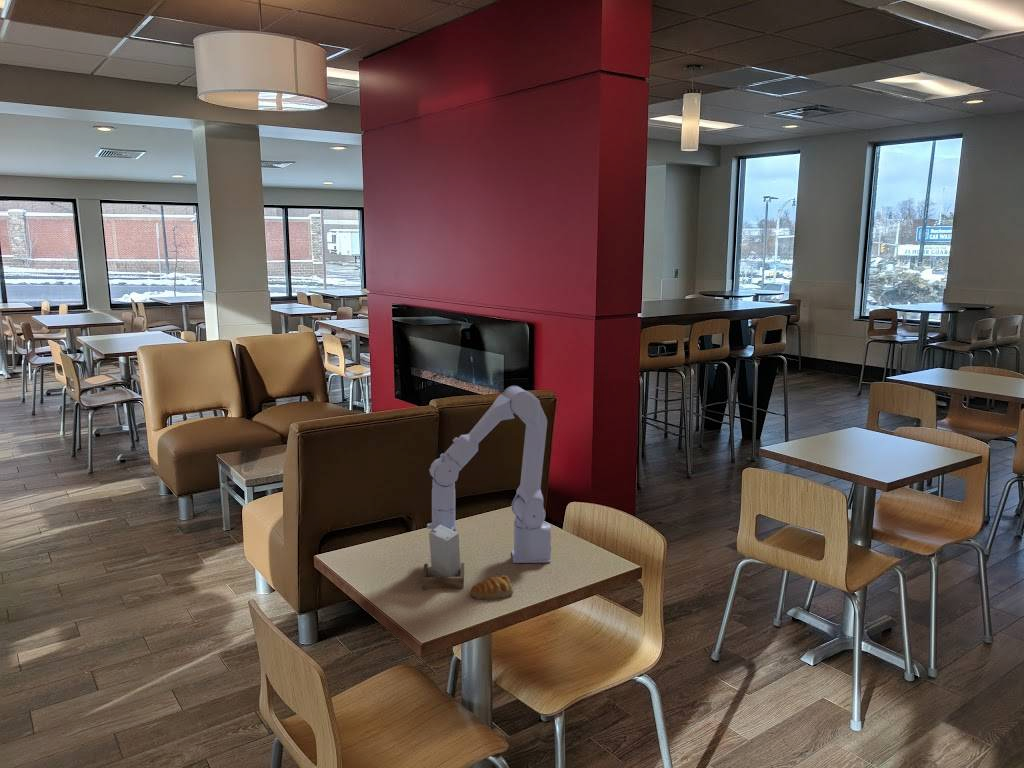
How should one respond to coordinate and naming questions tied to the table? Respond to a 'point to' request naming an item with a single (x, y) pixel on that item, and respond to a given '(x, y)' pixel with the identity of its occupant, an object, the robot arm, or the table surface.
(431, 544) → the skincare box
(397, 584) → the table surface
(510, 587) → the pastry
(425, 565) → the bottle holder
